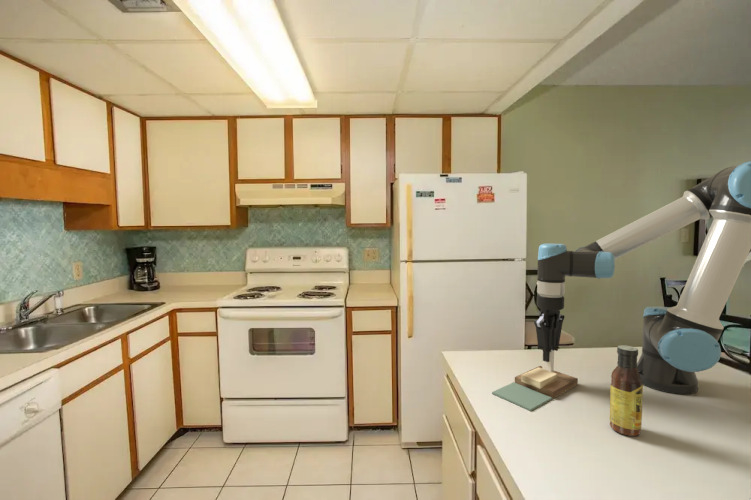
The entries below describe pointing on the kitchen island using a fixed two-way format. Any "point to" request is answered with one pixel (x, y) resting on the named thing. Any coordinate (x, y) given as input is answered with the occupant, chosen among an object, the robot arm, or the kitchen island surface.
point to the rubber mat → (522, 396)
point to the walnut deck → (552, 384)
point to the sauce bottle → (626, 393)
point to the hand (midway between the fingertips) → (547, 370)
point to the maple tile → (539, 377)
